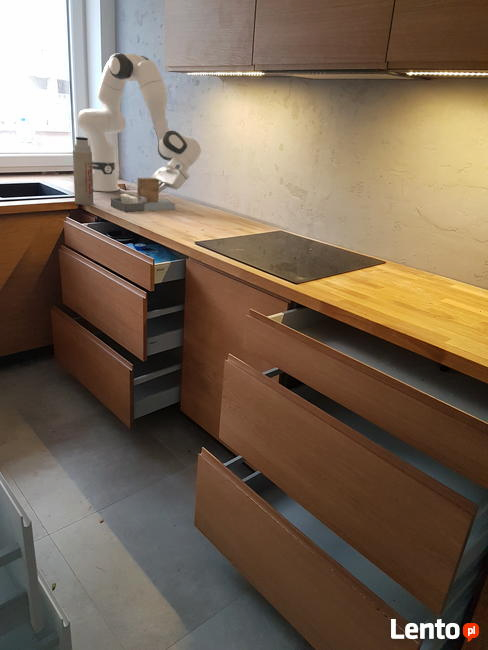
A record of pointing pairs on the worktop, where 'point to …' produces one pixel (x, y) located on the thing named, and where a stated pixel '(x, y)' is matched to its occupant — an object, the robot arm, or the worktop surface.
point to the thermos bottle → (83, 172)
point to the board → (159, 205)
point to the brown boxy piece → (147, 190)
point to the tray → (126, 205)
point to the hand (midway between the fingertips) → (156, 191)
